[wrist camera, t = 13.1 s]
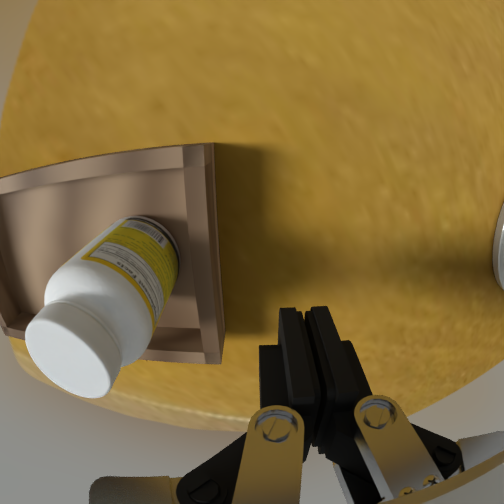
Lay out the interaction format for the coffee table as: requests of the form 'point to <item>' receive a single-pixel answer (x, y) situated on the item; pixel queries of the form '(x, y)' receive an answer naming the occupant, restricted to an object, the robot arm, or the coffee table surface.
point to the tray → (101, 217)
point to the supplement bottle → (104, 306)
